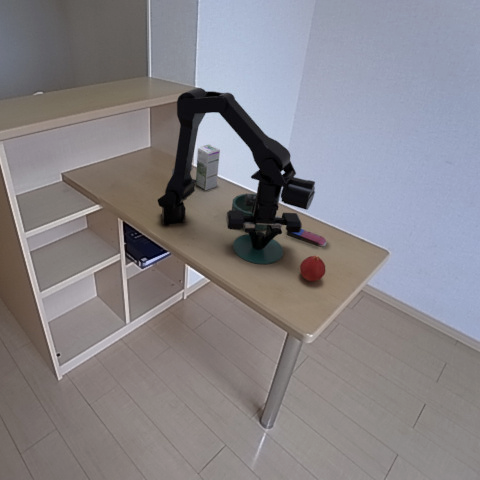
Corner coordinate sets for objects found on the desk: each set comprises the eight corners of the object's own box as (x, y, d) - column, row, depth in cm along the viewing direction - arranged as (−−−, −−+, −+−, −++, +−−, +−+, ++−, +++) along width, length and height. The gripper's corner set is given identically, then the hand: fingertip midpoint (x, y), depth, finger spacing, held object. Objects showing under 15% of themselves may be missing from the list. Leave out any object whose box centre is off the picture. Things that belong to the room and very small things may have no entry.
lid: (242, 268, 96) (245, 251, 93) (226, 239, 107) (228, 223, 104) (291, 263, 98) (295, 246, 95) (269, 234, 109) (273, 218, 106)
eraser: (327, 243, 106) (329, 238, 105) (322, 249, 103) (324, 244, 102) (289, 229, 112) (291, 224, 110) (284, 235, 109) (286, 230, 108)
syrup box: (217, 186, 135) (221, 148, 127) (204, 191, 132) (207, 152, 124) (207, 181, 139) (210, 143, 130) (194, 184, 136) (197, 147, 128)
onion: (293, 273, 95) (300, 248, 90) (315, 272, 95) (323, 247, 91) (302, 288, 90) (310, 263, 86) (325, 287, 91) (334, 262, 86)
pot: (238, 234, 110) (241, 216, 106) (224, 212, 120) (227, 195, 116) (278, 230, 111) (282, 212, 108) (261, 209, 122) (264, 192, 118)
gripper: (298, 184, 99) (286, 232, 108) (228, 181, 100) (222, 229, 109) (308, 204, 90) (294, 255, 99) (231, 201, 91) (224, 251, 100)
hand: (258, 246), depth 102 cm, fingers closed on lid, 2 cm apart
